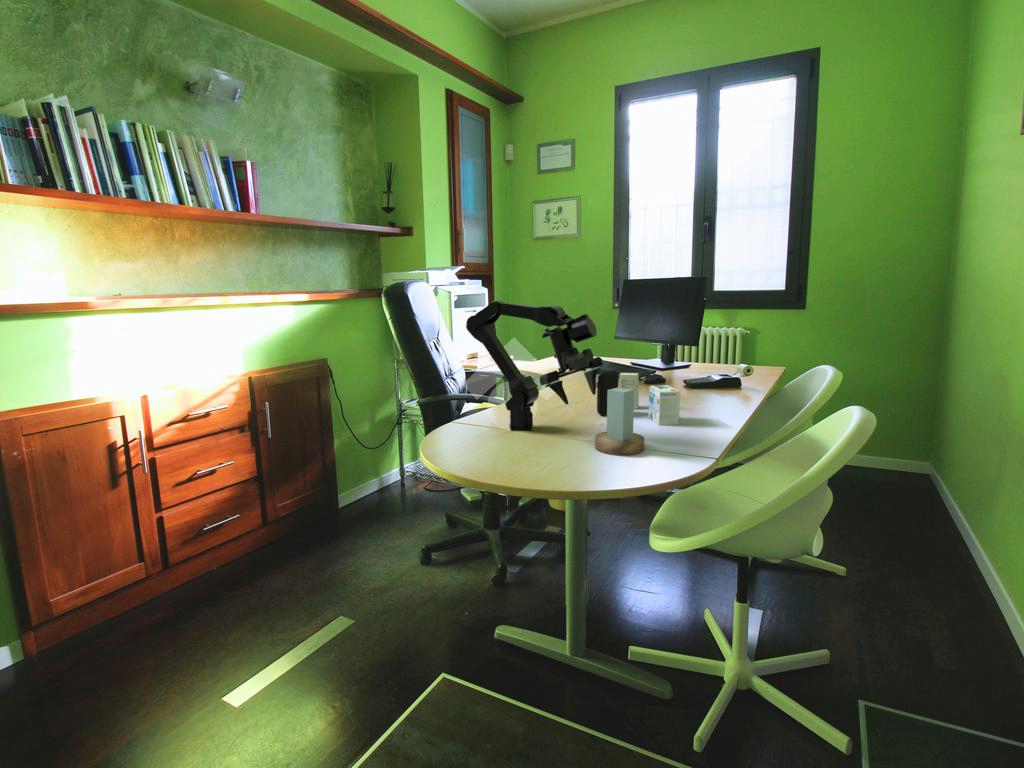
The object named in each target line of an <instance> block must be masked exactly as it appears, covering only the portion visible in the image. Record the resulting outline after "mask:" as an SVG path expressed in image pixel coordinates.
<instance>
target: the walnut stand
mask: <svg viewBox="0 0 1024 768" xmlns="http://www.w3.org/2000/svg"><path fill="white" fill-rule="evenodd" d="M594 449H595V450H596V451H597V452H600V453H601V454H605V455H610V456H611V455H612V456H620V455H621V456H623V455H626V456H635V455H638V454H642V453H643V452H644V451H645V437H644V435H641V434H639V433H635V432H633V437H632V438H630V439H627V440H624V441H620V440H615V439H610V438H607V431H603V432H599V433H597V434H596V435H595V437H594ZM641 452H642V453H641ZM621 456H620V457H621Z"/></svg>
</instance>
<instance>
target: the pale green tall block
mask: <svg viewBox="0 0 1024 768" xmlns="http://www.w3.org/2000/svg"><path fill="white" fill-rule="evenodd" d="M634 410H635V409H634V390H633V389H626V388H620V386H618V388H614V389H610V390H608V394H607V414H606V432H607V438H610V439H615V440H620V441H624V440H627V439H630V438H632V437H633V433H634V416H635V414H634V412H635V411H634Z"/></svg>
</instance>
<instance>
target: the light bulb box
mask: <svg viewBox="0 0 1024 768" xmlns="http://www.w3.org/2000/svg"><path fill="white" fill-rule="evenodd" d="M648 391H649V393H648V394H649V395H648V397H649V398H648V418H649V419H650V420H651V421H652V422H654V423H655V424H656V425H657V426H679V424H680V407H681V390H679V389H677V388H675V387H673V386H671V385H669V384H665V385H664V384H662V385H649V390H648Z"/></svg>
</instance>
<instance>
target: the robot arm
mask: <svg viewBox="0 0 1024 768" xmlns="http://www.w3.org/2000/svg"><path fill="white" fill-rule="evenodd" d="M501 316H507V317H514V318H518V319H520V318H521V319H525V320H531V321H533V322H535V323H536V324H538V325H542V326H544V327H547V328H545V329H544V332H543V334H542V335H541V337H542V339H545V338H549V340H550V342H551V346H552V348H553V352H554V354H553V357H554V359H556V360H557V363H558V366H559V368H557V369H558V371H557V370H553V371H551V372H547V373H545V374H541V375H540V376H539V383H540V386H545V387H546V388H550V389H551V390H552V391H553V392H554V393H555V394H556V395H557V396H558V397H559V399H560V400H562V402H563V403H564V404H565V405H569V400H568V397H567V395H566V392H565V389H564V386H563V380H560V378H563V377H566V376H569V375H572V374H575V373H579V372H582V371H584V370H585V372H583V374H584V377H585V379H586V382H587V384H588V387H589V389H590V392H591V394H592V395H593V396H594V395H597V387H596V382H597V377H598V374H599V373H598V372H599V370H601V369H602V366H604V365H605V363H604V360H603V359H602V357H600V356H596V357H594V353H593V351H592V349H591V348H585V349H583V350H582V352H579V349H578V348H577V347H575V346H574V343H573V341H574V342H575V343H581V342H583V341H586V340H589V339H592V338H595V337H596V336H597V332H598V331H597V328H596V324H595V323H594V321H593V320H592V319H591V318H590V316H589V314H588V313H585V314H582V315H580V316H579V317H576V318H573V317H571V316H570V315H569V314H567V313H566V312H565V310H564V308H563V307H562V306H560V305H545V306H544V305H543V306H533V305H527V304H521V303H514V302H508V301H504V300H493V301H491V302H490V303H489V304H487V306H485V307H484V308H482V309H481V310H479V311H477V312H476V313H475V314H474V315H471V316H469V317H468V318H467V320H466V323H465V324H466V325H465V328H466V330H467V332H468V333H469V334H470V335H471V337H473V338H474V339H475V340H477V341H478V342H479V343H481V344H482V345H483V346H484V348H485V349H486V351H487V352H488V354H489V355H490V356H491V358H492V360H493V361H494V363H495V364H496V366H497V368H498V369H499V370H500V372H501V374H502V375H503V376H504V378H505V379H506V381H507V383H508V389H509V393H510V398H509V399H508V400H507V401H506V402H505V403H504V404H505V408H506V410H507V411H509V424H508V425H509V430H510V431H525V430H526V431H529V430H530V431H531V429H533V428H532V427H533V426H534V417H533V416H534V414H533V412H532V407H533V406H534V404H535V402H536V400H538V398H539V393H540V390H539V388H538V387H539V385H538V384H537V383H536V382H535V380H534V379H533V376H531V375H528V376H525V375H524V374H522V372H521V371H520V369H519V367H517V365H516V364H515V362H514V360H513V359H512V358H511V356H510V354H509V352H508V351H507V350H506V348H505V347H504V345H503V344H502V342H501V341H500V340H499V338H498V336H497V331H496V326H495V323H496V322H497V321H498V320H499V319H500V318H501ZM565 326H566V327H565ZM550 327H555V328H552V329H550ZM562 327H564V328H562Z"/></svg>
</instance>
